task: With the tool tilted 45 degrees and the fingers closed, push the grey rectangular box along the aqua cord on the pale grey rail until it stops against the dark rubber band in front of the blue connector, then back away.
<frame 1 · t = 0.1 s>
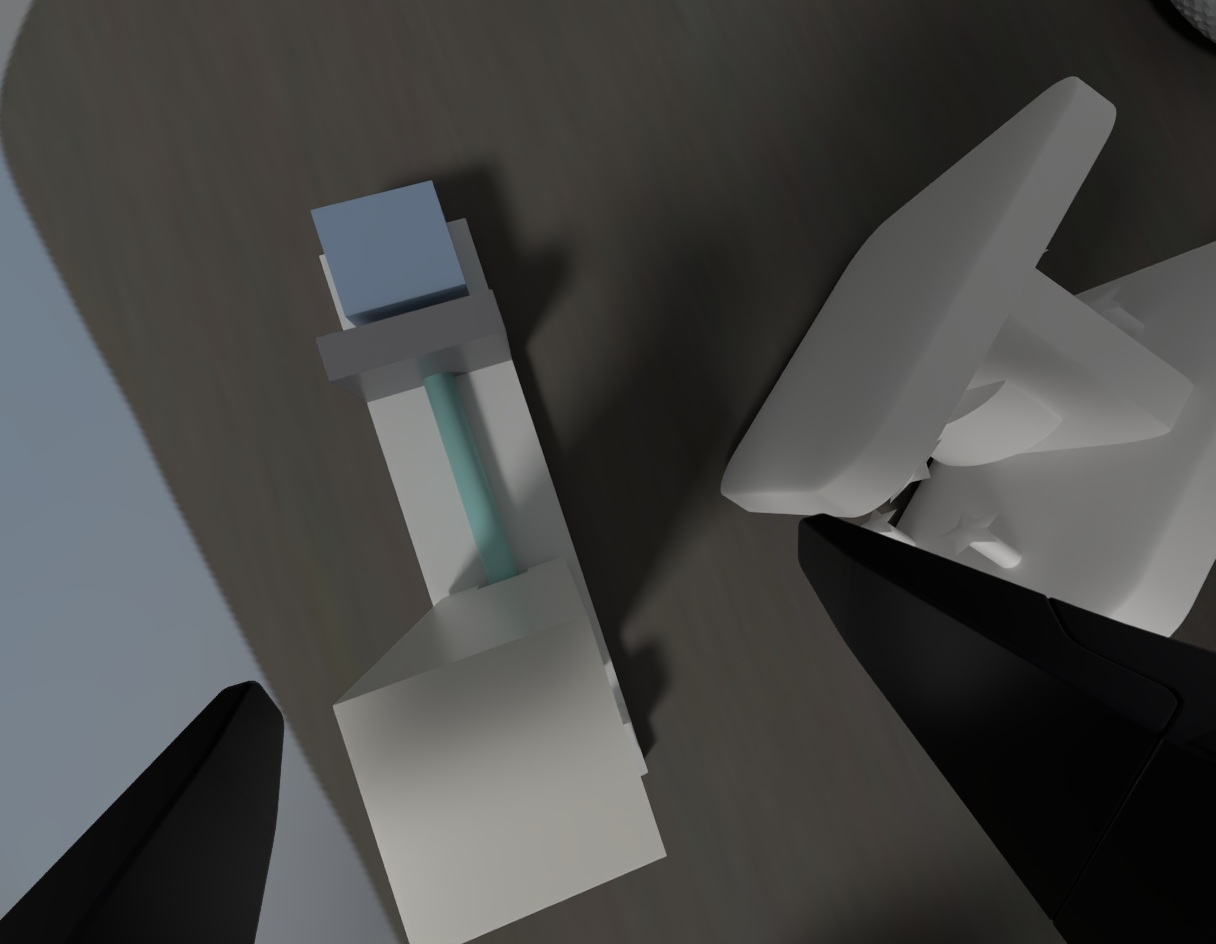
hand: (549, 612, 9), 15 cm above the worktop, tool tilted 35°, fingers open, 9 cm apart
grey rectangular box: (517, 683, 17), point 7 cm above the worktop, slide at 0.0 cm
cable organizer: (875, 417, 26), on the worktop
cord rail: (509, 583, 24), on the worktop
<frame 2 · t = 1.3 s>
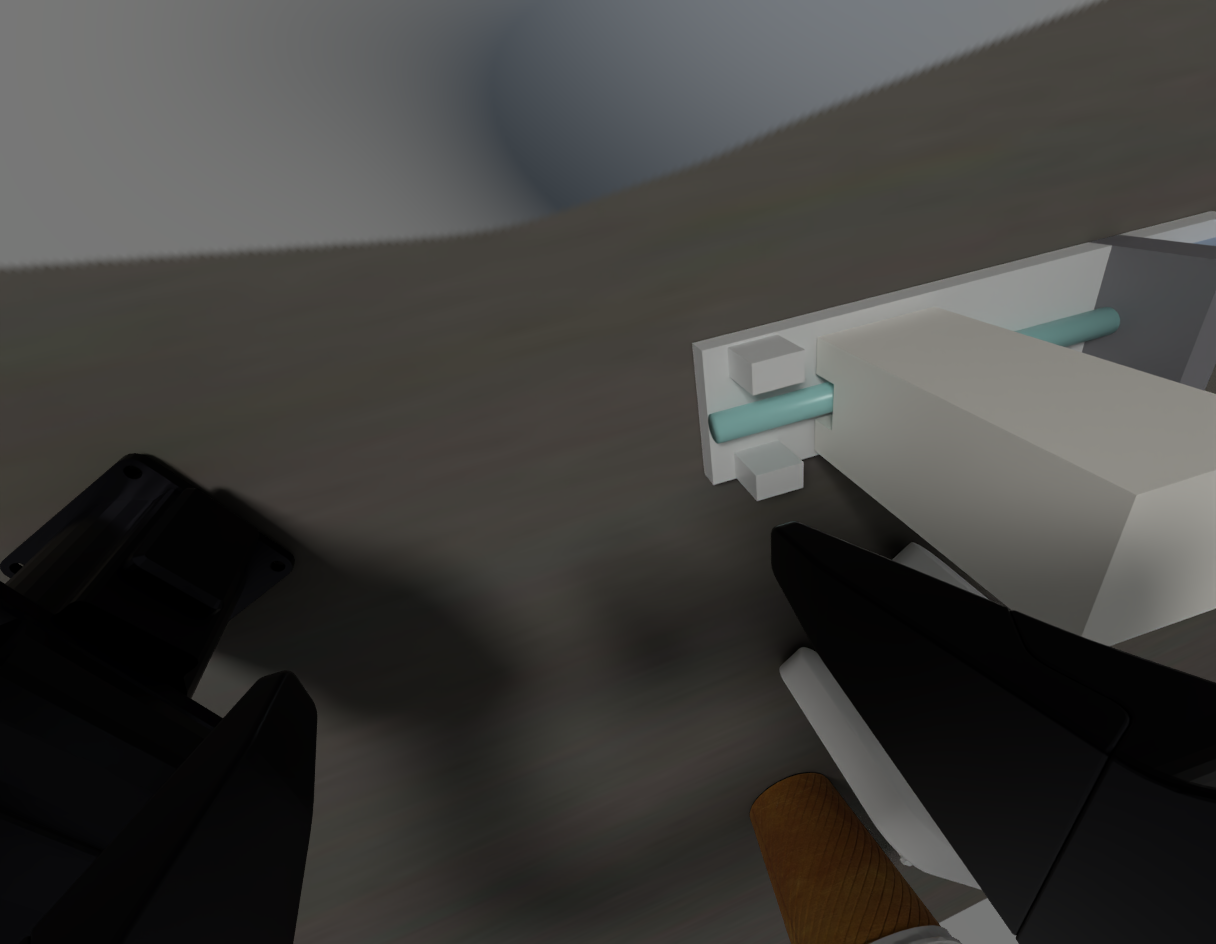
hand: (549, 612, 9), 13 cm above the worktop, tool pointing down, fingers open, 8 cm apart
disposable coffee cup: (788, 797, 41), on the worktop
grey rectangular box: (988, 444, 18), point 7 cm above the worktop, slide at 0.0 cm
cable organizer: (887, 634, 34), on the worktop
cord rail: (894, 359, 24), on the worktop
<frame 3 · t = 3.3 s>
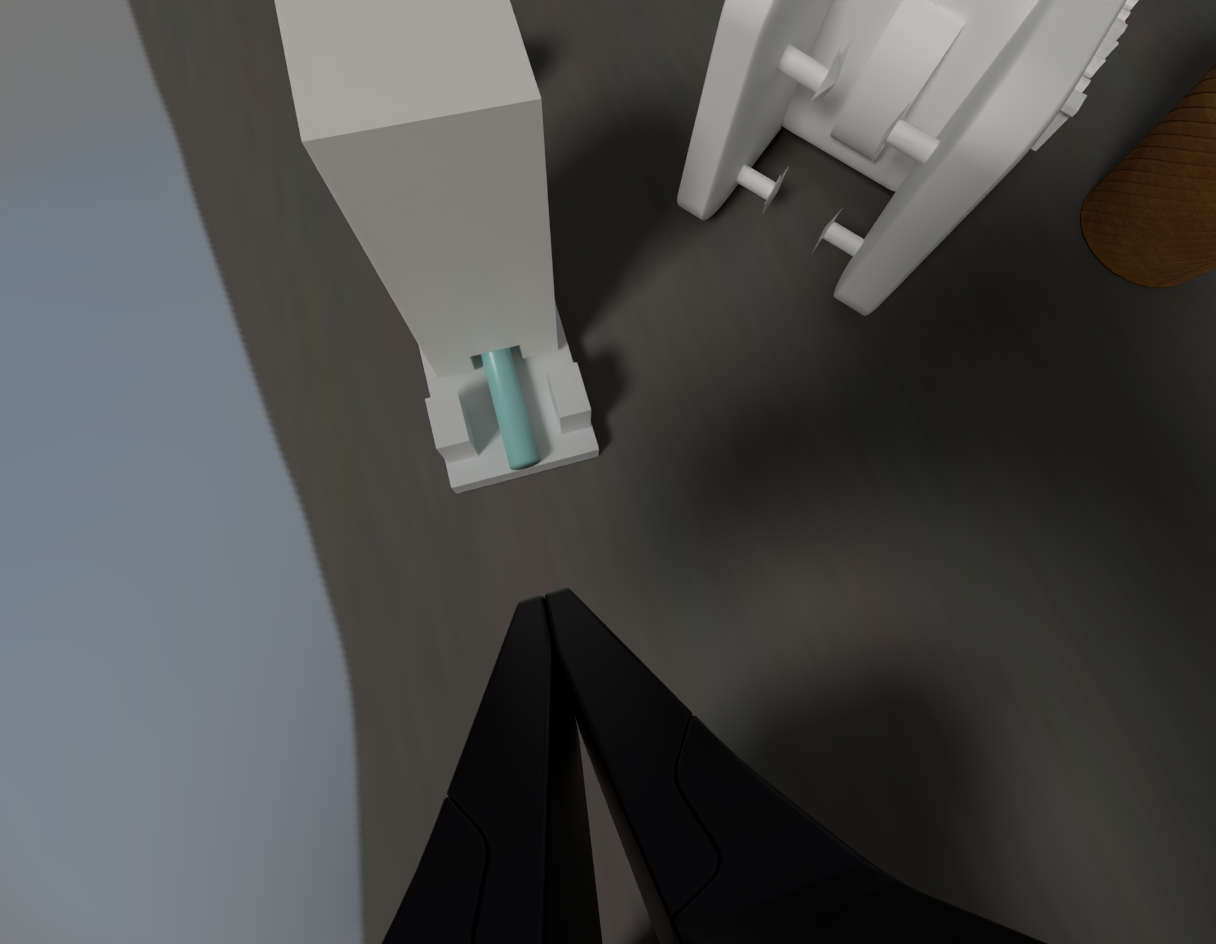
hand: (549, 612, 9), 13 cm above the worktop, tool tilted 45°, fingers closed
disposable coffee cup: (1136, 235, 28), on the worktop
grey rectangular box: (456, 214, 18), point 7 cm above the worktop, slide at 0.0 cm
cable organizer: (832, 183, 28), on the worktop
cord rail: (479, 288, 25), on the worktop
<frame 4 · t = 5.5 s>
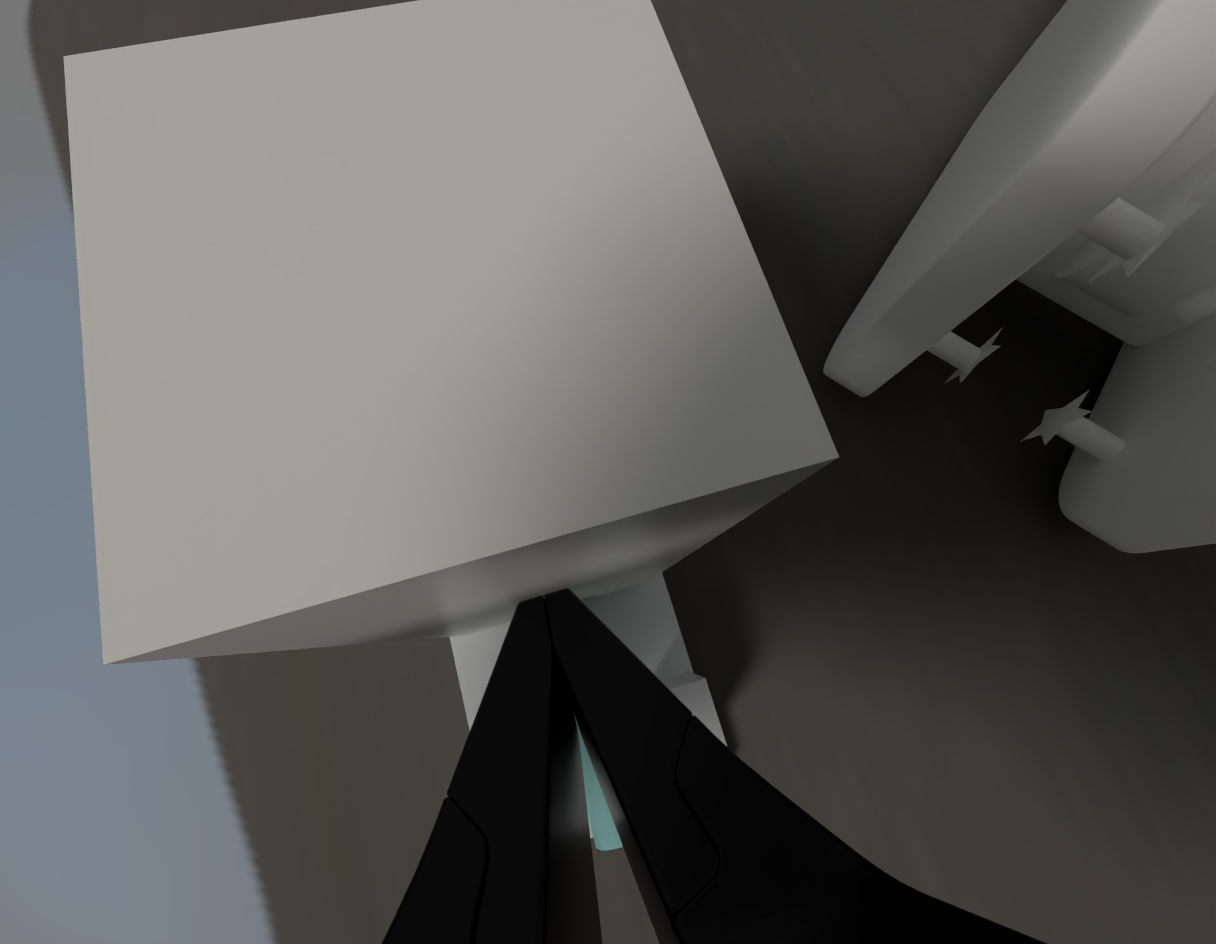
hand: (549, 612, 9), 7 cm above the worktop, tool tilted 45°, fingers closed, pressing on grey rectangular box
grey rectangular box: (511, 458, 10), point 7 cm above the worktop, slide at 1.1 cm, touching gripper
cable organizer: (1019, 319, 20), on the worktop
cord rail: (531, 498, 17), on the worktop
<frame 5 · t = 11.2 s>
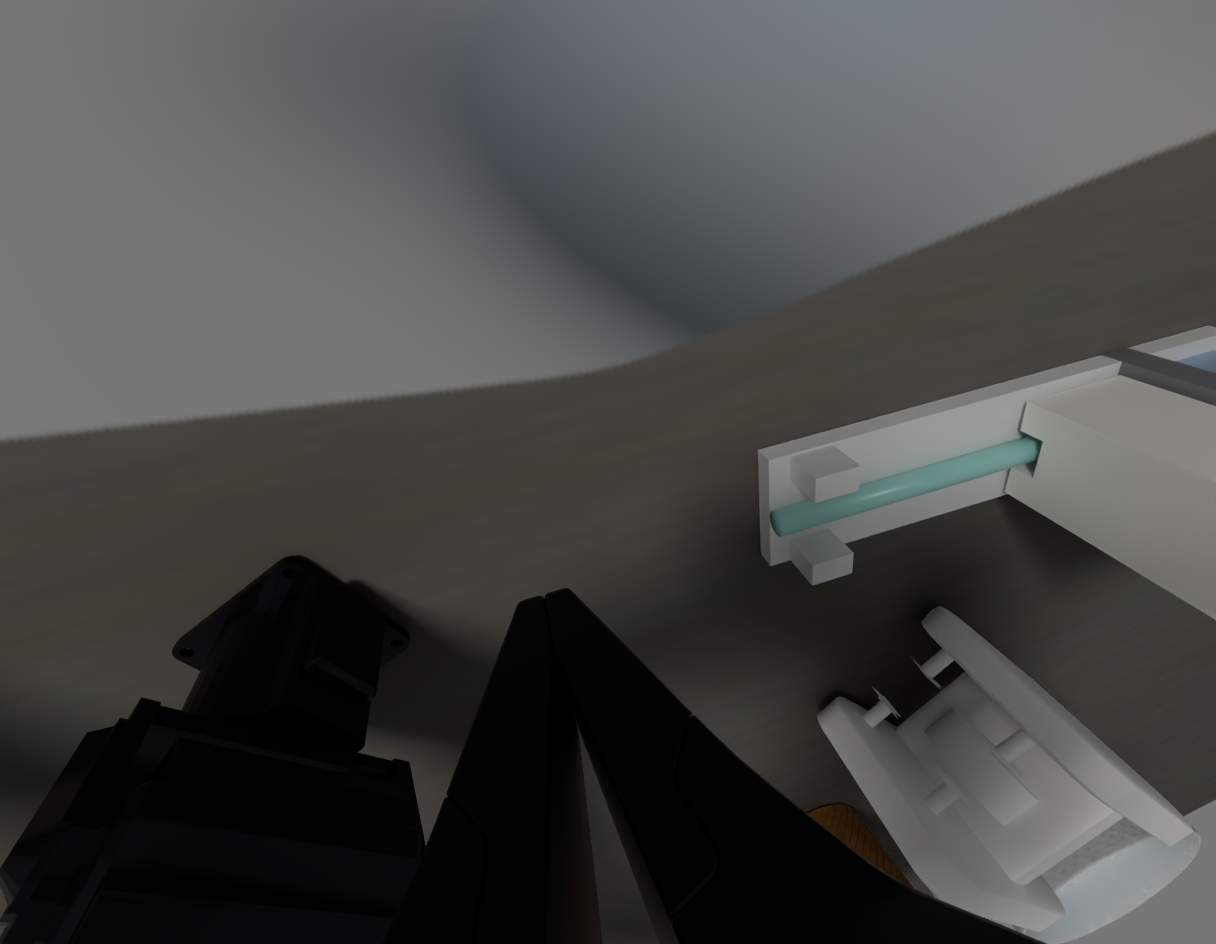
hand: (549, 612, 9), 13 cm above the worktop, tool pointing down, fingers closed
disposable coffee cup: (815, 825, 44), on the worktop
grey rectangular box: (1197, 498, 22), point 7 cm above the worktop, slide at 8.0 cm
cable organizer: (912, 682, 37), on the worktop
cord rail: (929, 455, 27), on the worktop
cereal bowl: (1037, 808, 53), on the worktop
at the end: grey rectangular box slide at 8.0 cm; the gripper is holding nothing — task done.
